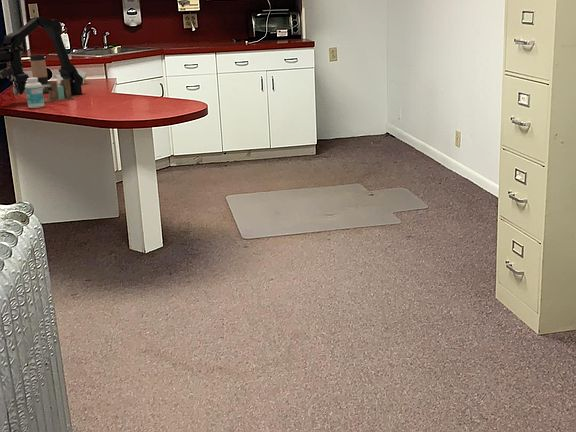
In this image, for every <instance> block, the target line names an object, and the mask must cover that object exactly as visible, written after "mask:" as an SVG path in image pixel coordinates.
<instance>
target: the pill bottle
mask: <svg viewBox="0 0 576 432" xmlns="http://www.w3.org/2000/svg"><path fill="white" fill-rule="evenodd" d="M25 89H26V93H25V94H26V95H25V96H26V101H27V107H28V108H30V109H38V108H43V107H45V102H44V99H45V98H44V94H43V90H42V84H41V83H39V82H38V78H33V77H29V78H27V81H26V84H25Z"/></svg>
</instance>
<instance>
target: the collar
mask: <svg viewBox="0 0 576 432" xmlns="http://www.w3.org/2000/svg"><path fill="white" fill-rule="evenodd" d="M57 90H58V97H59V99H63V98H65V97H64V89H63V86H61V84H59V85H58V84H57Z"/></svg>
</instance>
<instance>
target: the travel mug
mask: <svg viewBox="0 0 576 432" xmlns="http://www.w3.org/2000/svg"><path fill="white" fill-rule="evenodd" d="M29 59H30V60H29V61H30V65H31V66H30V67H31V72H32V73H31V74H32V78H38V82H39V83H41V84H42V85H45V84H48V82H47V81H49V77H48V70H47V63H46V57H45V55H44V54H33V55H30V56H29ZM44 94H49V90H47V91H43V95H44Z"/></svg>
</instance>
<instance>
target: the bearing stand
mask: <svg viewBox="0 0 576 432" xmlns="http://www.w3.org/2000/svg"><path fill="white" fill-rule="evenodd" d="M60 81H61V83H60V85H61V86H63V89H64V97H65V98H63V99H59V97H58V90H57V86H58V83H57V81H53V80H50V81H49V80H48V81H47V82H48V84H51V89H52V90H49V93H48V95H49V97H48V98H46V97H45V98H44V103H49V102H58V101H59V102H61V101H67V100H68V101H69V100H75V99H76V97H74V96H73V95H71V88H70V81H69V80H68V81H66V80H60Z"/></svg>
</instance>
